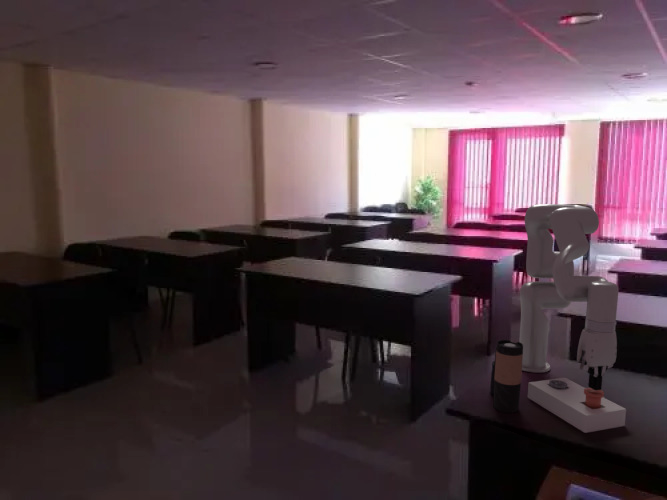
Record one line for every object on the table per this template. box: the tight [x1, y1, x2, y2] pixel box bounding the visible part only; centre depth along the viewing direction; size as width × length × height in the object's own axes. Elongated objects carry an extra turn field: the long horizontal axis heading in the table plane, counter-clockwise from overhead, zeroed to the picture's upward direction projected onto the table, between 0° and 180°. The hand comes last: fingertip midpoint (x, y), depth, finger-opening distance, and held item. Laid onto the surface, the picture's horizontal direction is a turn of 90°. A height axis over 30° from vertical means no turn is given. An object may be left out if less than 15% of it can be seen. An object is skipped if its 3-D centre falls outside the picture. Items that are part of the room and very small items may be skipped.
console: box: [527, 377, 627, 434], centre depth 161 cm, size 24×14×5 cm, turn 19°
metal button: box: [549, 379, 567, 390], centre depth 167 cm, size 5×5×4 cm
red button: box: [584, 387, 605, 409], centre depth 154 cm, size 5×5×4 cm
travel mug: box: [493, 339, 523, 413], centre depth 162 cm, size 8×8×20 cm
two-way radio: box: [489, 346, 497, 395], centre depth 173 cm, size 6×4×15 cm
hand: (594, 388), depth 153 cm, fingers closed
